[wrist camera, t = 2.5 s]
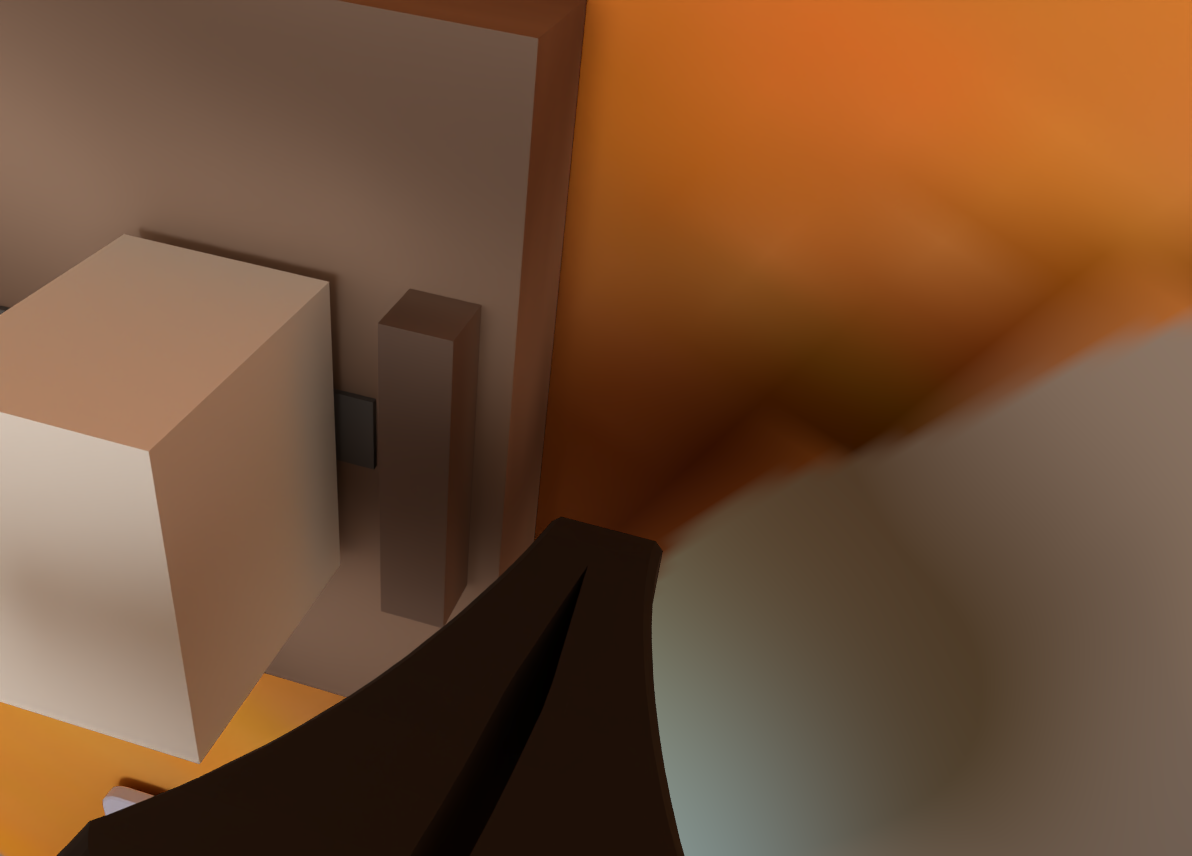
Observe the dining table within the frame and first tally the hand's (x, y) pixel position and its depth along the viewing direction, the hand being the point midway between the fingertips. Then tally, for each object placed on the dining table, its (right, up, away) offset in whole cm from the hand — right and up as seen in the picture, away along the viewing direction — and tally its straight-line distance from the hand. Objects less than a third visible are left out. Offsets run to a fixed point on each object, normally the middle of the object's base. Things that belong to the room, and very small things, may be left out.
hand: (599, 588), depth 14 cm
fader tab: (-5, +2, +2) cm, 6 cm away
